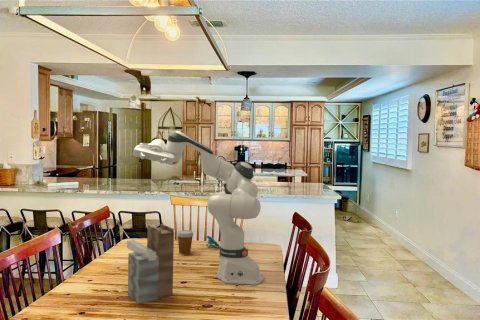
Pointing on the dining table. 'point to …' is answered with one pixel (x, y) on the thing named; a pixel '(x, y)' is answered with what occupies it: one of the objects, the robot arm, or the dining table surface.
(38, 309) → the dining table surface
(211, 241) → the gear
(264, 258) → the dining table surface
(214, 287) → the dining table surface
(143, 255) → the steel bar
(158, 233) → the stand
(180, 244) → the disposable coffee cup
